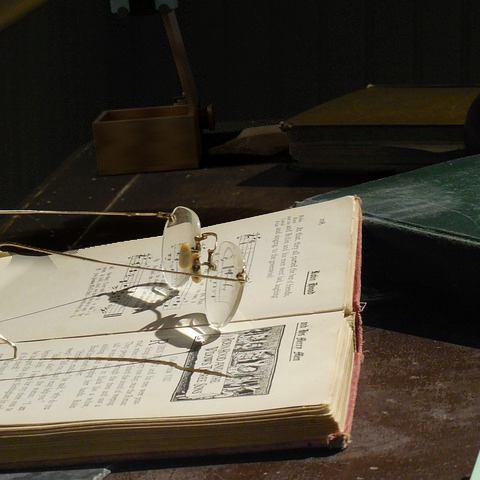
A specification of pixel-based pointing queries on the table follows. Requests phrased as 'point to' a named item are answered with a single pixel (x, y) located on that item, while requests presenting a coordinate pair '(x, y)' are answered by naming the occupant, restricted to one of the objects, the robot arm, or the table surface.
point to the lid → (181, 60)
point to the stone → (255, 142)
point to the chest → (147, 140)
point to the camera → (201, 117)
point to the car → (163, 3)
